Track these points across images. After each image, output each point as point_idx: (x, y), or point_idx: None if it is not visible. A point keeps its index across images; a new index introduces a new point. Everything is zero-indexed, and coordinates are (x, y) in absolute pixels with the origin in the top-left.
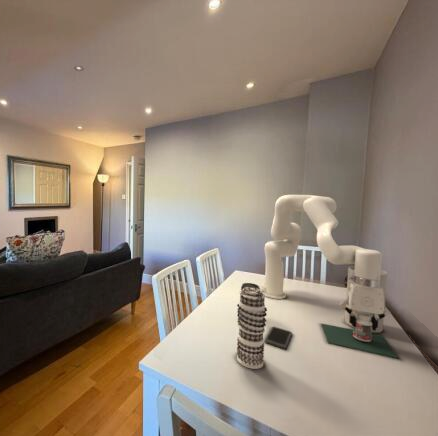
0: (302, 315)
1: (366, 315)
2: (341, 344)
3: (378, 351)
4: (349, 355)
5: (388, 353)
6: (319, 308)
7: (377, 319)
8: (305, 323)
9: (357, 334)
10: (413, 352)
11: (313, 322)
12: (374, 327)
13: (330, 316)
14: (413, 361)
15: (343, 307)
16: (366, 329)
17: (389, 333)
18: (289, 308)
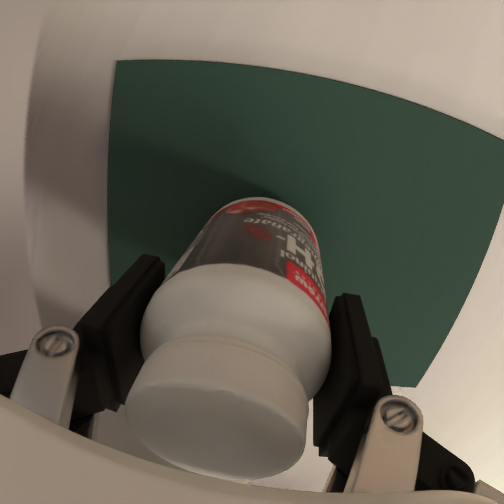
0: (443, 431)
1: (180, 422)
2: (456, 129)
3: (214, 92)
4: (446, 9)
5: (154, 92)
6: (311, 490)
7: (61, 344)
8: (492, 363)
9: (312, 239)
10: (29, 192)
11: (442, 389)
12: (142, 270)
13: (301, 457)
14: (61, 77)
15: (492, 495)
16: (241, 239)
17: None
18: None
